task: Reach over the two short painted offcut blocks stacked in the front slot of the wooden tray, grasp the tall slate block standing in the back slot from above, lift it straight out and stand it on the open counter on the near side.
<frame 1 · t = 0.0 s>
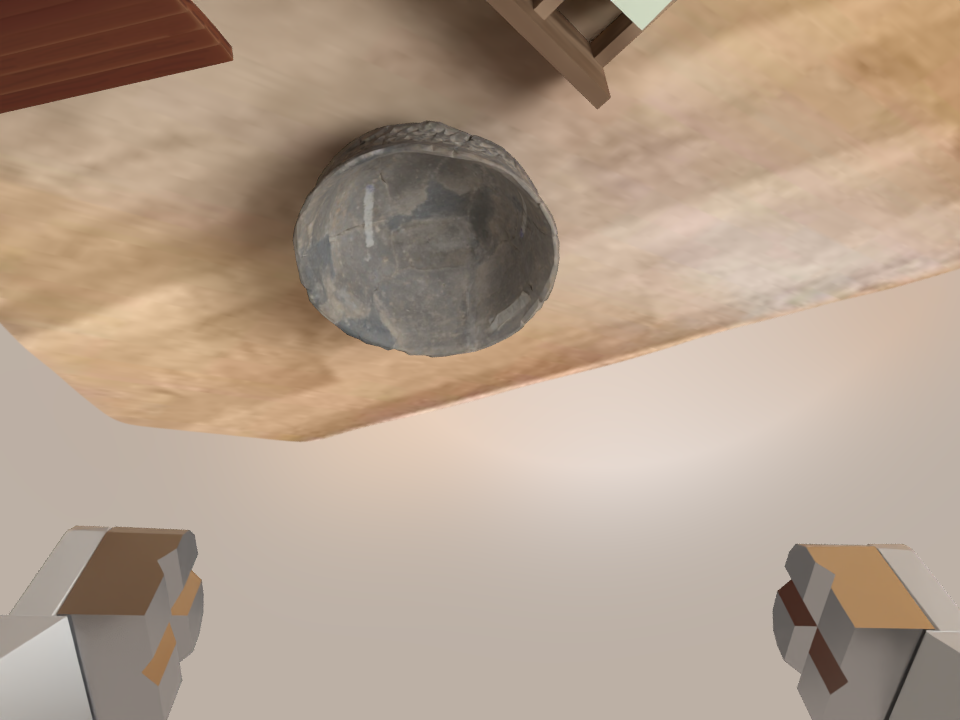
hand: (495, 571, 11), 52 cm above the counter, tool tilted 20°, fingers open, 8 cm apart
bowl: (431, 191, 68), on the counter
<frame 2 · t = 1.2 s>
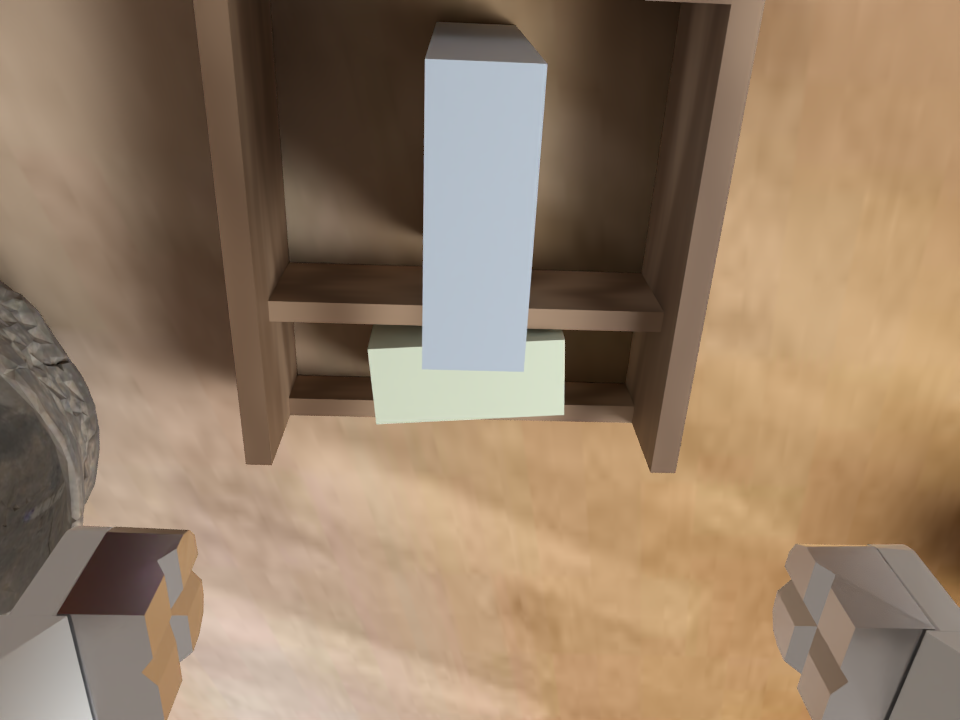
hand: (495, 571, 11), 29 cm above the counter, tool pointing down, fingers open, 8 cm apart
wooden tray: (469, 205, 38), on the counter
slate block: (471, 138, 37), resting in wooden tray
sage offcut: (467, 354, 39), point 3 cm above the counter, touching grey offcut
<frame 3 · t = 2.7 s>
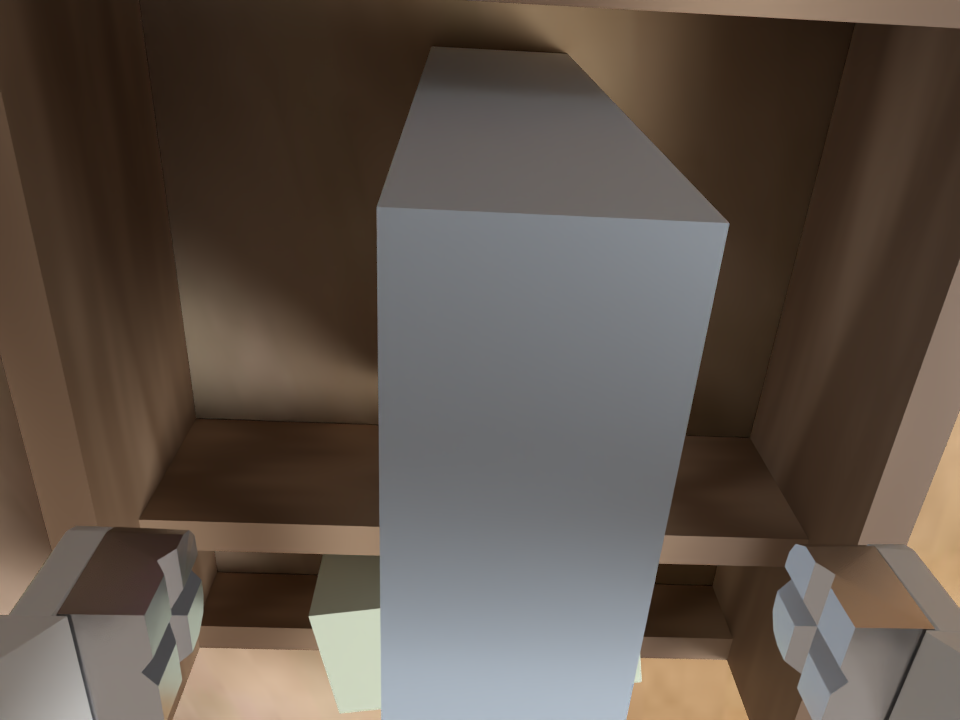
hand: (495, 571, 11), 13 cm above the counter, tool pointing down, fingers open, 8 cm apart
wooden tray: (482, 338, 24), on the counter
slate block: (488, 236, 22), resting in wooden tray
sage offcut: (478, 575, 25), point 3 cm above the counter, touching grey offcut
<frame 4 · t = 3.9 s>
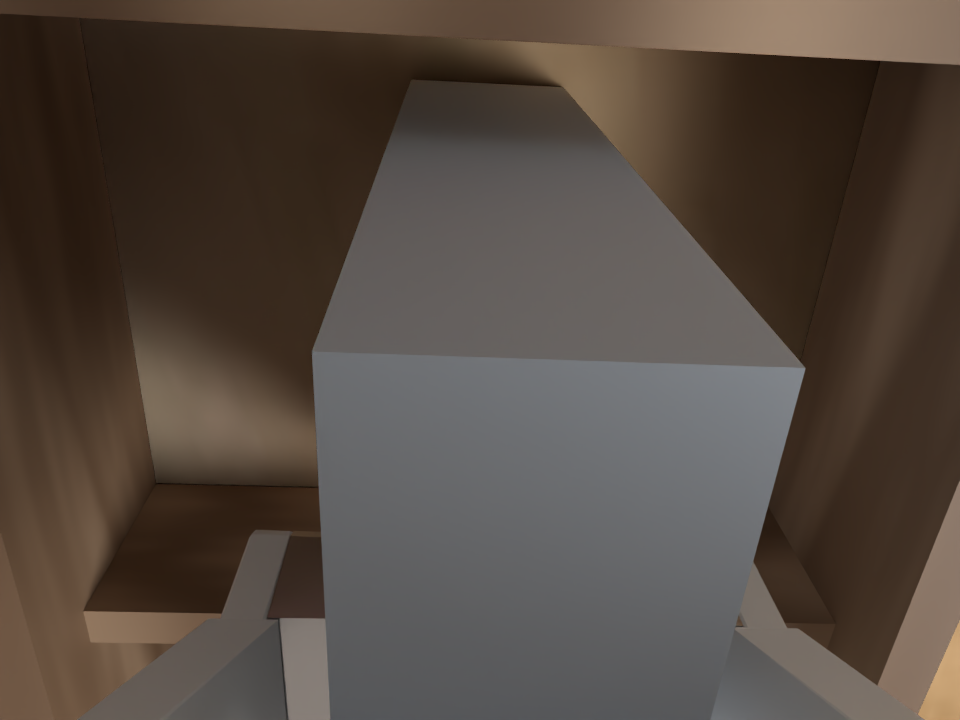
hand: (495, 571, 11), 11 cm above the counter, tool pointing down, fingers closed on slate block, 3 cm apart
wooden tray: (470, 396, 22), on the counter
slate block: (476, 286, 20), resting in wooden tray, touching gripper
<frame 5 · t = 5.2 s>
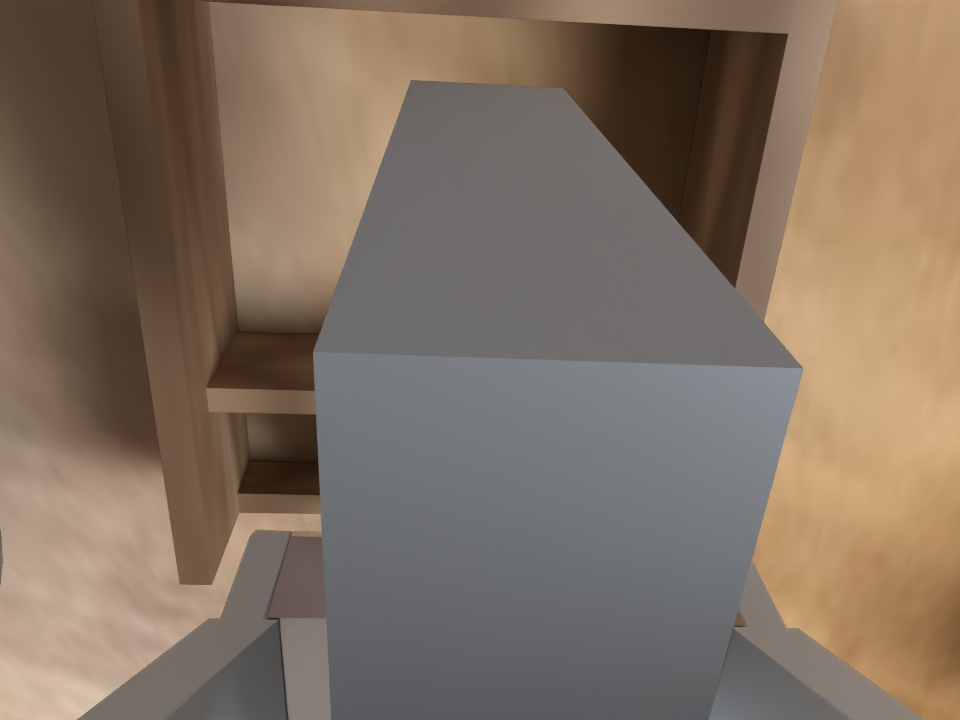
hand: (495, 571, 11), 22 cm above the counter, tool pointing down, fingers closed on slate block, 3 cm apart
wooden tray: (454, 266, 32), on the counter
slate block: (476, 286, 20), point 12 cm above the counter, touching gripper
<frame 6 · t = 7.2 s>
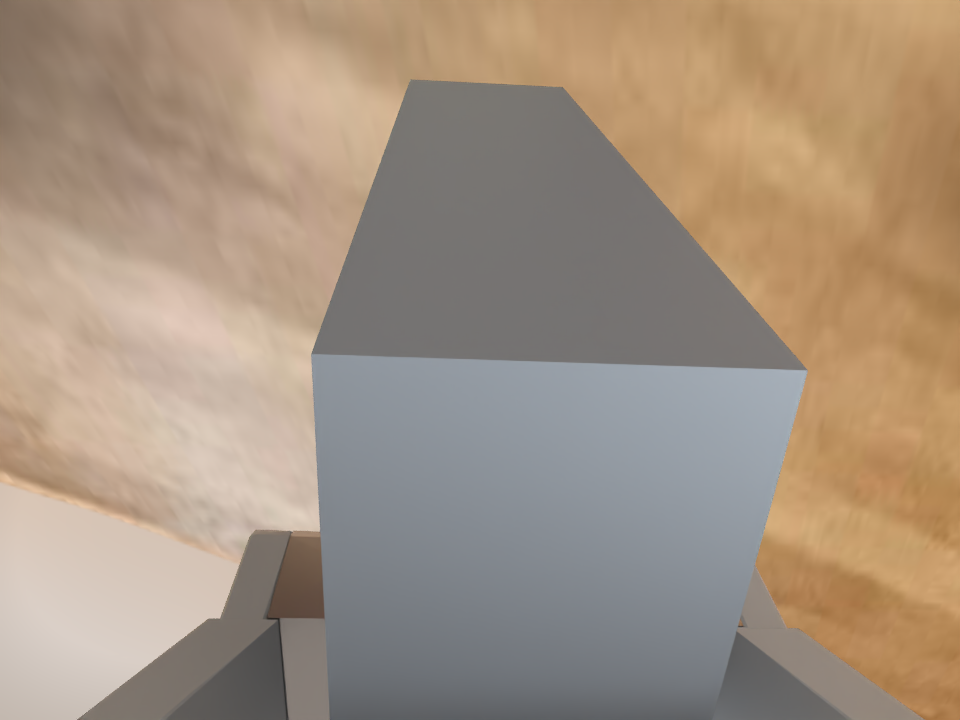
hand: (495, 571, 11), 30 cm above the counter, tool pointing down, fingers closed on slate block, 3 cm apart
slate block: (476, 286, 20), point 19 cm above the counter, touching gripper
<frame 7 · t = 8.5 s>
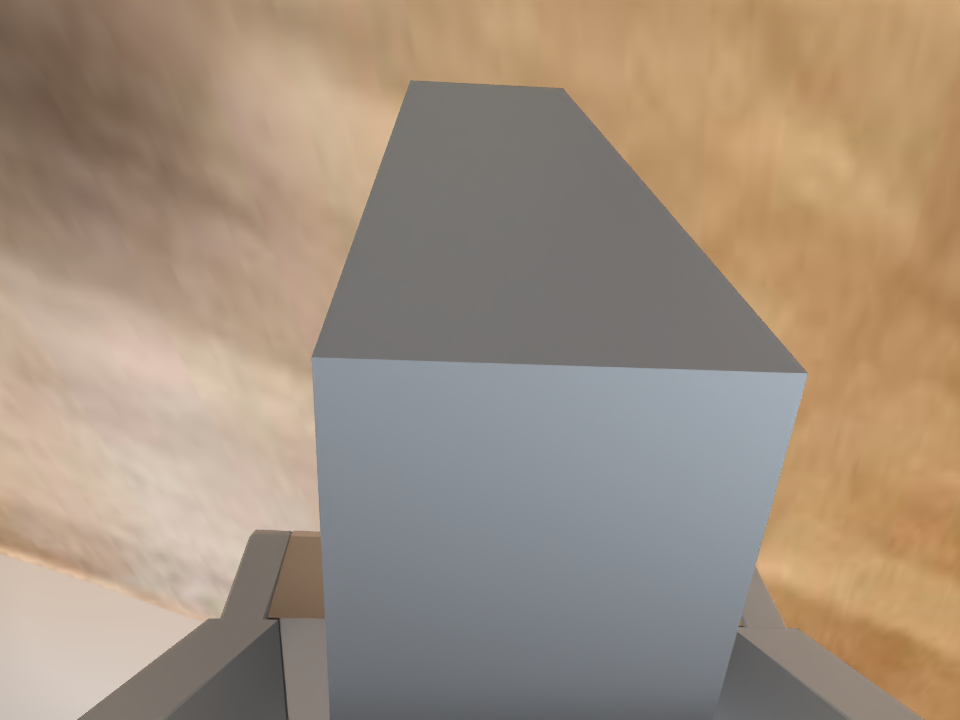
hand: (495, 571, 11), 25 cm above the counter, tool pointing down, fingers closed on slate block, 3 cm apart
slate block: (476, 287, 20), point 14 cm above the counter, touching gripper
when the fingers open (12 cm above the counter, at t = 11.0 s): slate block drops 1 cm, on the counter.
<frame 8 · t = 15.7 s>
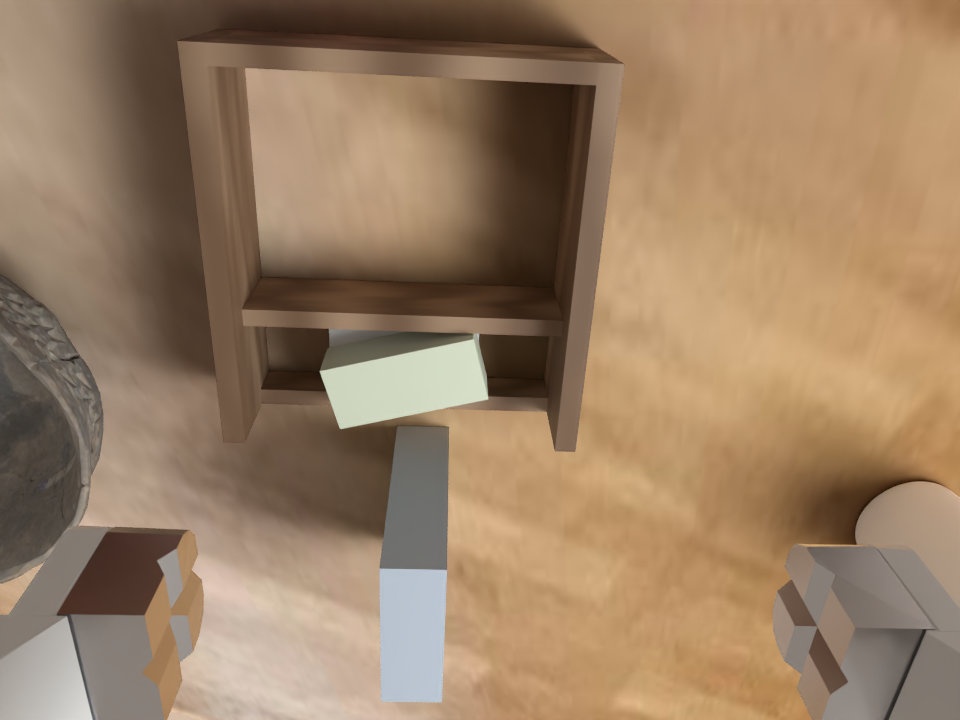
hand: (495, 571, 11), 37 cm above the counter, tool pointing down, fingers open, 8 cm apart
pill bottle: (904, 519, 58), on the counter
wooden tray: (409, 231, 47), on the counter
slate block: (421, 486, 55), on the counter
grey offcut: (406, 325, 50), resting in wooden tray, touching sage offcut
sage offcut: (407, 361, 48), point 3 cm above the counter, touching grey offcut
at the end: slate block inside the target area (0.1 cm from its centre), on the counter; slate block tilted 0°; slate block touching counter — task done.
